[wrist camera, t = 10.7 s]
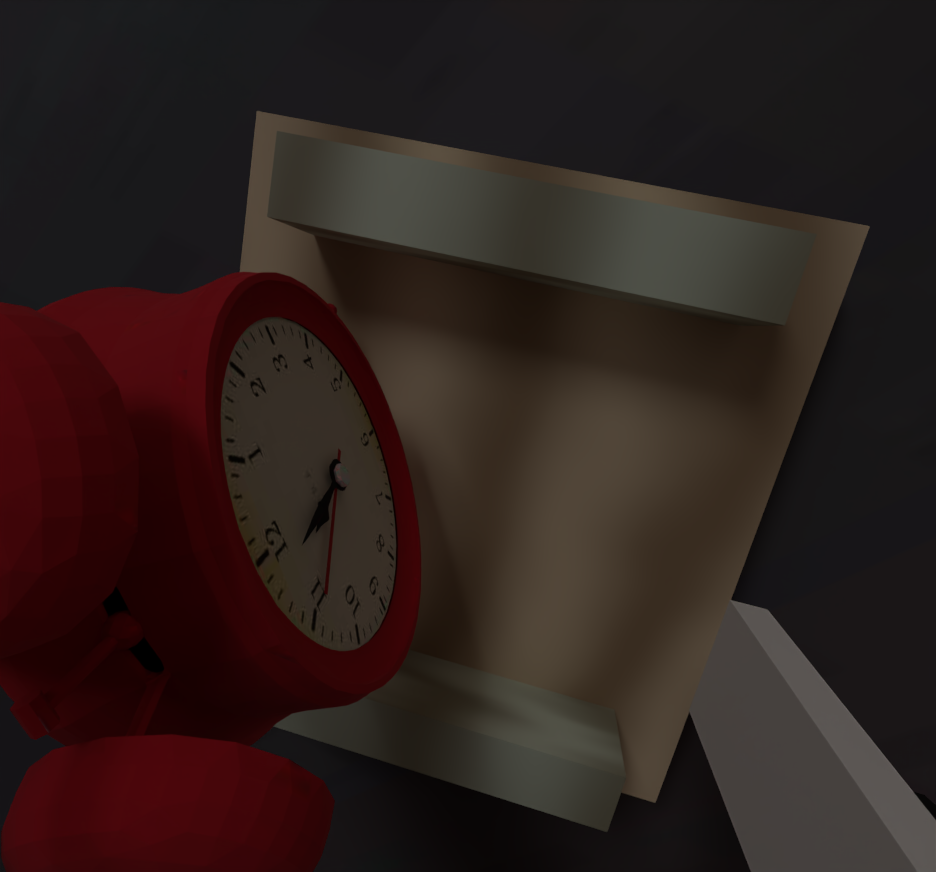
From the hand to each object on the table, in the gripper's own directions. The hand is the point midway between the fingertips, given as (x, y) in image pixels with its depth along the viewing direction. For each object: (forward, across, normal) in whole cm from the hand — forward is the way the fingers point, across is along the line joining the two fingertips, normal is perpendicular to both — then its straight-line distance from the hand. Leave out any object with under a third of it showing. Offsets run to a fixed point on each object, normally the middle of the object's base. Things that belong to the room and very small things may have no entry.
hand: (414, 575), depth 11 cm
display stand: (+9, 0, 0) cm, 10 cm away
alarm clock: (+6, -6, +1) cm, 8 cm away
